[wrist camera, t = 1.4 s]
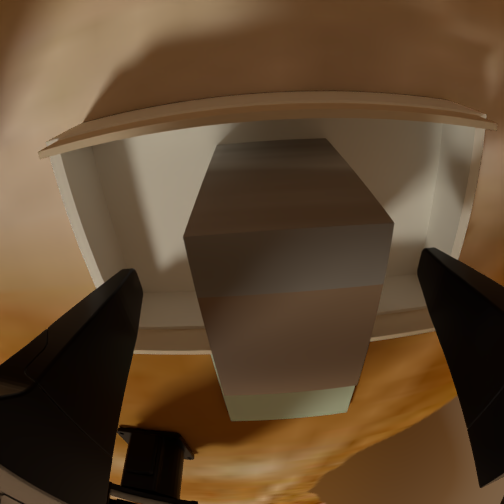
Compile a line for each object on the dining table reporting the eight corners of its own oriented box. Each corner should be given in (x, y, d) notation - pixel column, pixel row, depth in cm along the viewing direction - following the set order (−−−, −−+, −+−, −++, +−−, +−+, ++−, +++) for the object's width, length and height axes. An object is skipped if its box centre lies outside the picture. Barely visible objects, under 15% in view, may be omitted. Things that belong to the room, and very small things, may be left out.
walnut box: (323, 261, 14) (357, 385, 9) (233, 266, 14) (224, 395, 9) (325, 138, 11) (394, 223, 6) (216, 145, 11) (182, 236, 6)
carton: (419, 274, 15) (450, 329, 12) (133, 294, 16) (111, 353, 13) (447, 99, 10) (507, 123, 7) (82, 123, 11) (26, 153, 8)
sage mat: (345, 405, 23) (346, 412, 22) (231, 414, 23) (231, 421, 23) (365, 332, 18) (368, 339, 17) (211, 344, 18) (210, 352, 18)
